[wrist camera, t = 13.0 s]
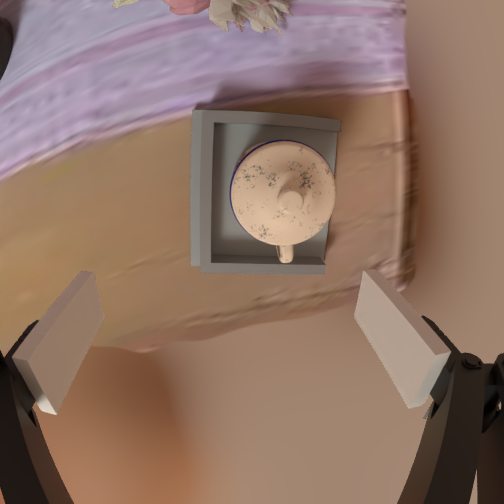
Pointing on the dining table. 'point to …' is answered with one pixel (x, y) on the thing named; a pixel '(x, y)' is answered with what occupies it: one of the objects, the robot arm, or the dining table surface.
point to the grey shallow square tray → (218, 186)
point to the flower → (231, 11)
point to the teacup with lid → (282, 193)
